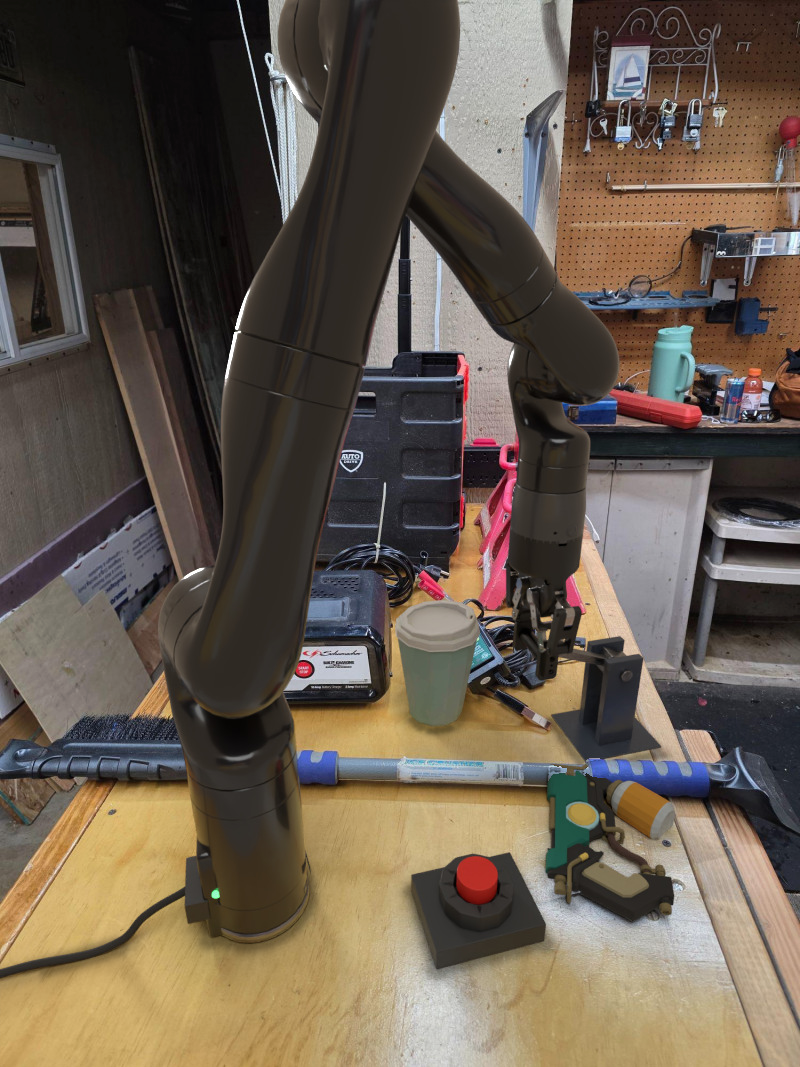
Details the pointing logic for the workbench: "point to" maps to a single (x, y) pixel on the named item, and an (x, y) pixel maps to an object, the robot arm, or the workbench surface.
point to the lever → (577, 655)
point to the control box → (475, 914)
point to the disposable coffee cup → (437, 658)
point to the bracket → (608, 707)
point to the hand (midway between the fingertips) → (533, 662)
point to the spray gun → (588, 818)
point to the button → (477, 880)
